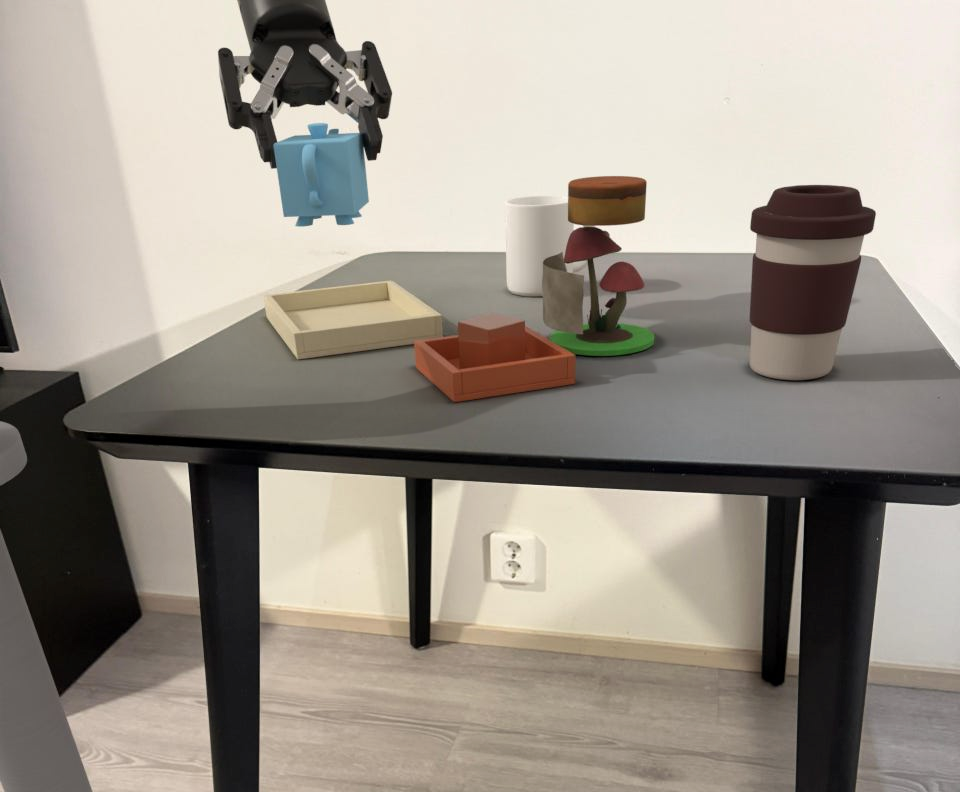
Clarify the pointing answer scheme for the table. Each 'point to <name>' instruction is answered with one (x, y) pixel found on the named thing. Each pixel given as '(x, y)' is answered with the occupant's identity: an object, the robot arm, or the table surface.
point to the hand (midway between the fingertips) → (325, 157)
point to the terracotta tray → (494, 368)
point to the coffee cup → (804, 277)
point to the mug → (535, 240)
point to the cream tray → (350, 319)
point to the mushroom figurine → (565, 291)
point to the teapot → (322, 175)
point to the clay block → (490, 340)
